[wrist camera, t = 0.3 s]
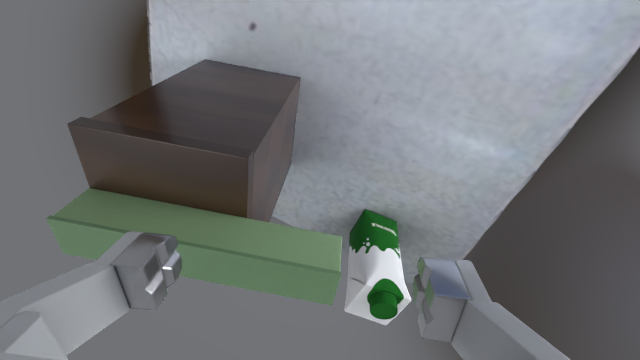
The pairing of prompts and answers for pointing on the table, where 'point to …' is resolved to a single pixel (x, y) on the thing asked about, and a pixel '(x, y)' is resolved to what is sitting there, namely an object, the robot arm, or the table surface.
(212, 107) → the drawer unit
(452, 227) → the table surface
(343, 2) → the table surface
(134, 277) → the robot arm
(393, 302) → the milk carton
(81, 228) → the storage box
